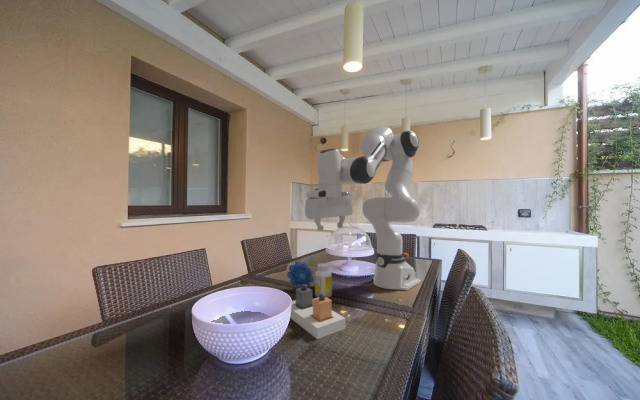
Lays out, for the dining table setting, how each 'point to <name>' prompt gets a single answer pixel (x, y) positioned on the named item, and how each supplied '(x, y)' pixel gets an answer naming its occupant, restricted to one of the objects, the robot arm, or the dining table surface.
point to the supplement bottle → (323, 280)
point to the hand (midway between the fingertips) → (330, 229)
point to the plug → (322, 308)
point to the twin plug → (304, 297)
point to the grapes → (300, 274)
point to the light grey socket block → (315, 327)
